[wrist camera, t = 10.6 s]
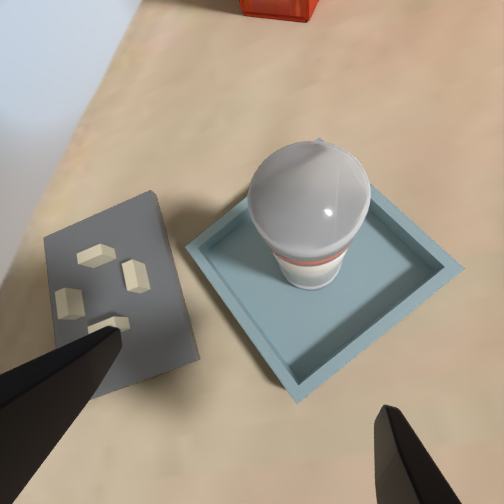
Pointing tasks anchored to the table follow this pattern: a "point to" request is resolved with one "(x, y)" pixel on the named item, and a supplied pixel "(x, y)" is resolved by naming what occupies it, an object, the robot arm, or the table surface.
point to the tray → (322, 290)
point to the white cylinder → (309, 209)
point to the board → (121, 290)
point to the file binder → (279, 9)
